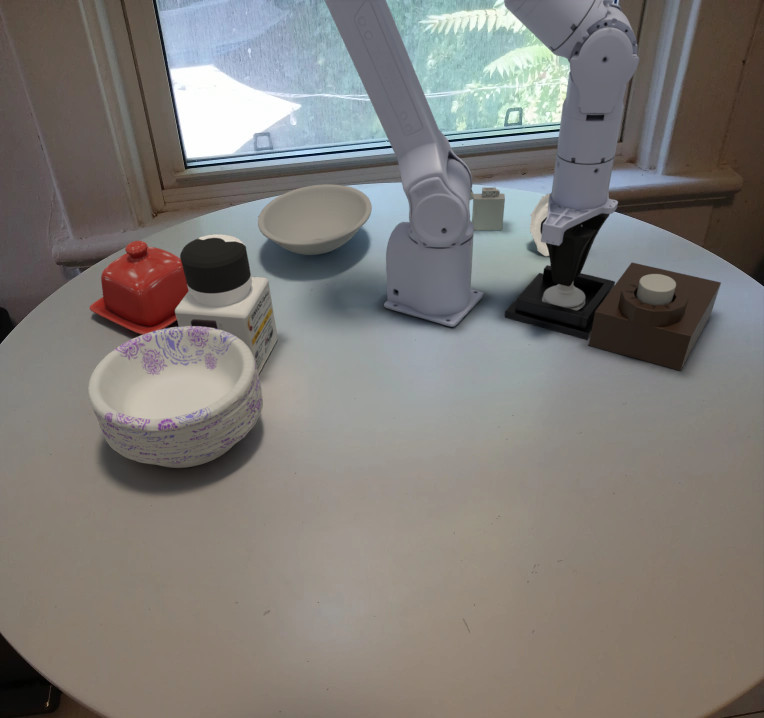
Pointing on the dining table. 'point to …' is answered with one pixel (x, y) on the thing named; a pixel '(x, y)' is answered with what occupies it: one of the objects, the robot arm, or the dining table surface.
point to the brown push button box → (654, 318)
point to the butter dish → (142, 289)
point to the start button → (656, 289)
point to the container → (227, 294)
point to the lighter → (488, 209)
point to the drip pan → (557, 317)
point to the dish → (315, 218)
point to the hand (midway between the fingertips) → (566, 278)
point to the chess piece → (565, 296)
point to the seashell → (539, 223)
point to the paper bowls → (176, 395)
